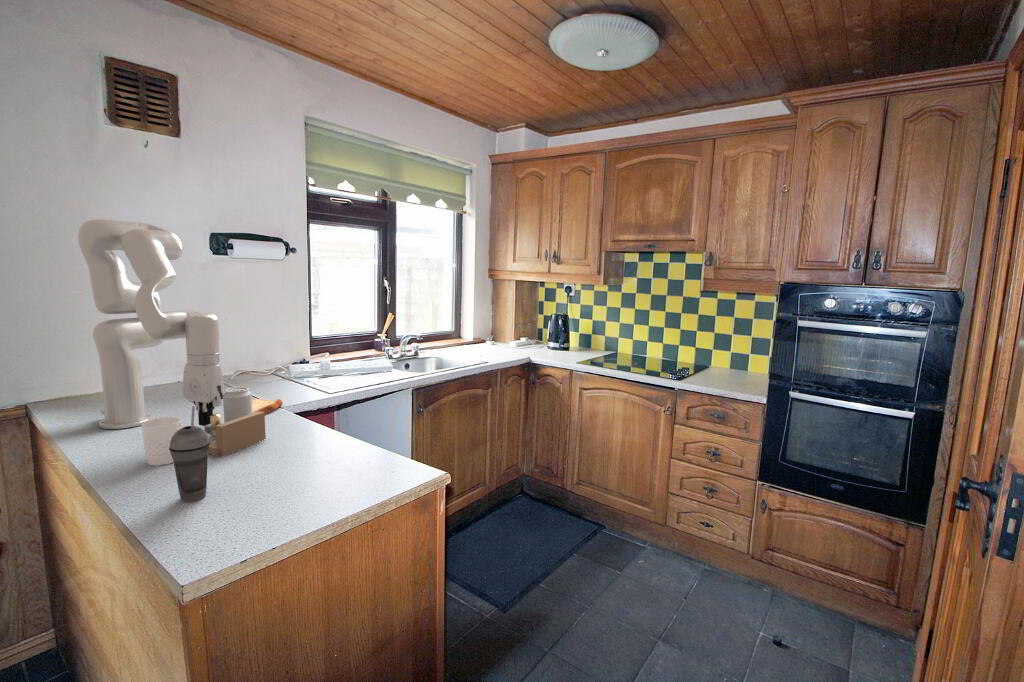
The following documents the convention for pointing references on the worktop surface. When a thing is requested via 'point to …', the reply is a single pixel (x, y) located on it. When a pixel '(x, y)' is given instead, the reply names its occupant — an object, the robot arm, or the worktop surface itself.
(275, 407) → the slice of bread
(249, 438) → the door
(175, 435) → the beverage cup
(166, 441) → the white cup
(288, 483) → the worktop surface
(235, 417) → the can
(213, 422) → the bolt
